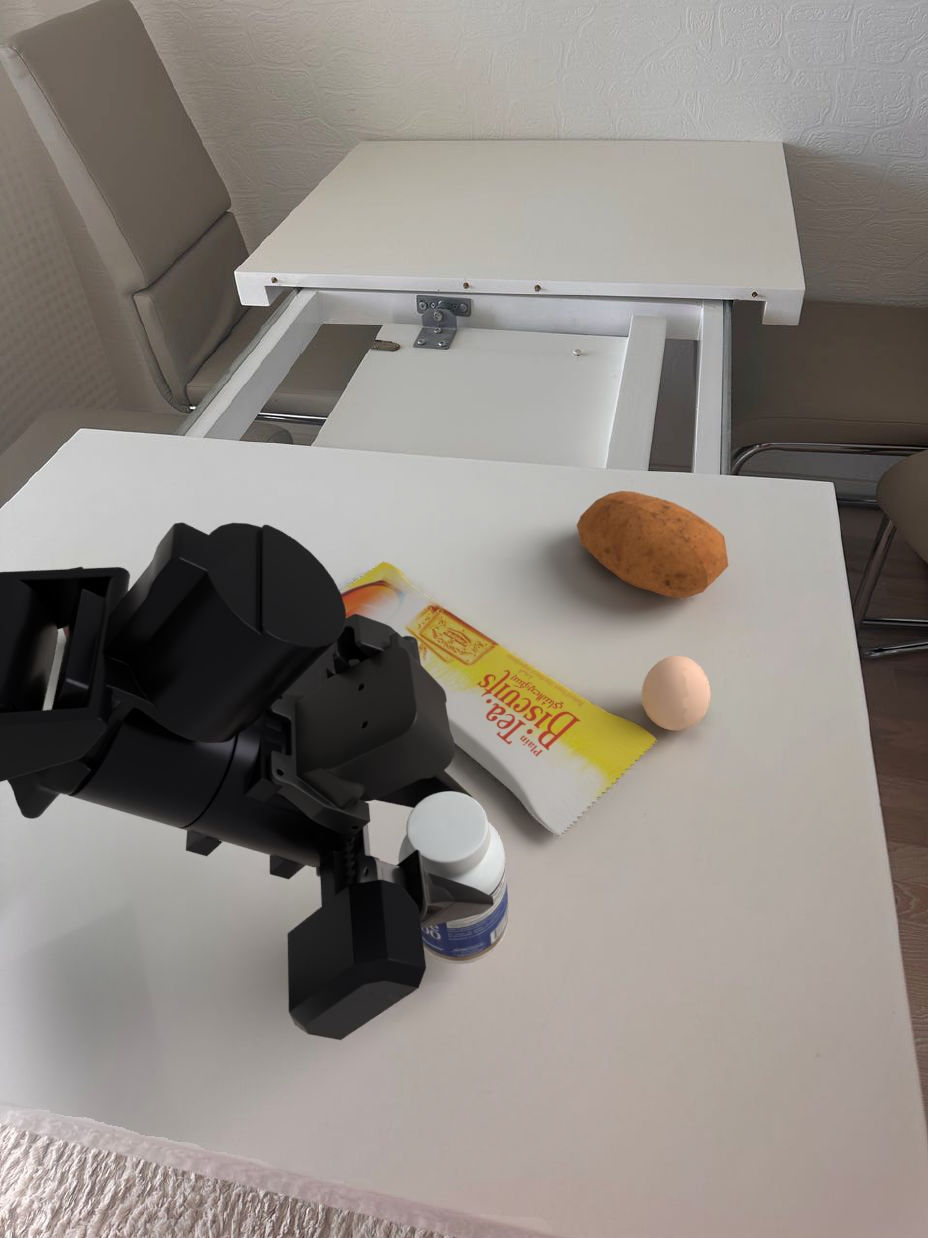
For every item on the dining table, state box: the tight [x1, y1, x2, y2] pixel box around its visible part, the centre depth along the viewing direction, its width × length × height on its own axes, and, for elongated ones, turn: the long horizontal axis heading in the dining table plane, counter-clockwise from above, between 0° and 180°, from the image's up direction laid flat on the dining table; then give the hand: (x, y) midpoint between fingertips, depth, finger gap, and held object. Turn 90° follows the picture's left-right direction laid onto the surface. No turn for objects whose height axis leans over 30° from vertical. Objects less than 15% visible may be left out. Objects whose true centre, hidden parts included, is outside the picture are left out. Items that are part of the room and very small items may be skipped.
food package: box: [340, 560, 658, 837], centre depth 67 cm, size 27×2×10 cm
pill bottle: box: [398, 791, 510, 965], centre depth 49 cm, size 5×5×10 cm
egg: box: [641, 655, 711, 732], centre depth 63 cm, size 4×4×6 cm
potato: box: [576, 490, 729, 599], centre depth 73 cm, size 7×13×7 cm, turn 38°
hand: (478, 855), depth 48 cm, fingers closed on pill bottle, 5 cm apart
